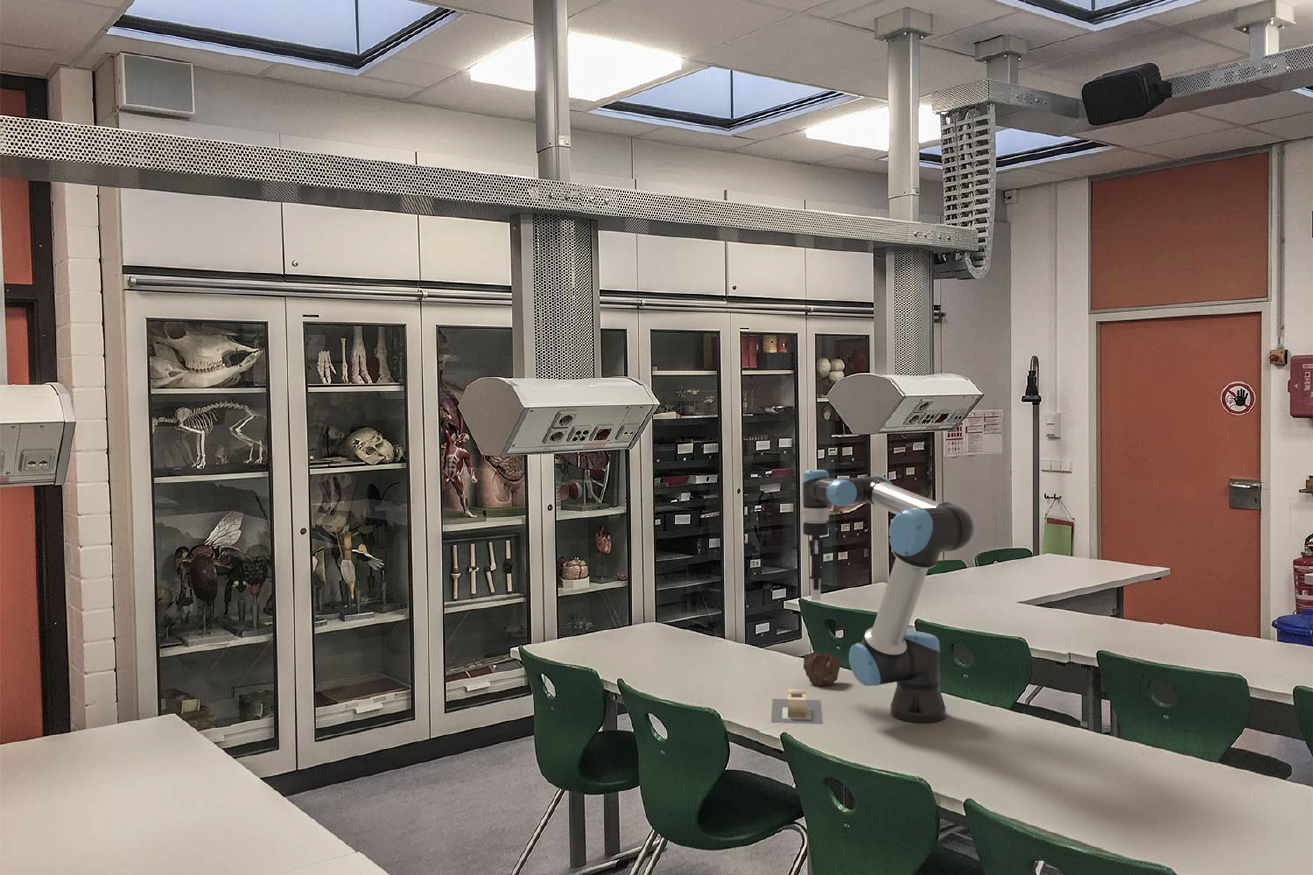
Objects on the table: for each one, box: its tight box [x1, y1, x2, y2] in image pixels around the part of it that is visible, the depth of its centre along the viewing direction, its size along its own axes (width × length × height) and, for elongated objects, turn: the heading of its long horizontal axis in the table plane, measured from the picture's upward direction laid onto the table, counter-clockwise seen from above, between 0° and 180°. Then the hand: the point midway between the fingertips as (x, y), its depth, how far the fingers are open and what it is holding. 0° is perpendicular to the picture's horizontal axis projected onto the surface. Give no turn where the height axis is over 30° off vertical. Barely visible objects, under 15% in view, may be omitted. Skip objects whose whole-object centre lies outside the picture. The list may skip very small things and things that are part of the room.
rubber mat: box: [770, 698, 824, 725], centre depth 294 cm, size 22×14×1 cm, turn 173°
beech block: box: [787, 688, 807, 718], centre depth 292 cm, size 5×5×10 cm
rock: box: [802, 653, 842, 687], centre depth 320 cm, size 12×10×10 cm
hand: (816, 599), depth 311 cm, fingers closed
